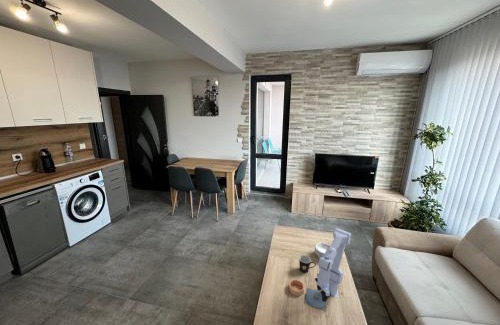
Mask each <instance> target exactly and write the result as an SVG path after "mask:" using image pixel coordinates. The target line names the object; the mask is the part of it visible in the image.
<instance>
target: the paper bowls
mask: <svg viewBox="0 0 500 325" xmlns="http://www.w3.org/2000/svg"><path fill="white" fill-rule="evenodd" d="M330 247H331V244H328V243H325V242H317V243H316V244H315V246H314V253H315V255H316V256H318V258H319V259H320V258H321V257H323V256H324V254H325V252H326V250H327V248H330Z"/></svg>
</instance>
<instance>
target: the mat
mask: <svg viewBox="0 0 500 325" xmlns="http://www.w3.org/2000/svg"><path fill="white" fill-rule="evenodd" d="M309 290H314V289H312V288H309V287H307V288H306V292H307V291H309ZM306 292H305V293H306ZM303 304H305V305H308V306H310V307H313V306H311V305H310V304H309V303H308V302H307V300H306V295H305V296H304V301H303ZM313 308H315V309H318V310H320V311H324V312H327V304H326V305H325V306H324V307H323V308H316V307H313Z"/></svg>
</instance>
